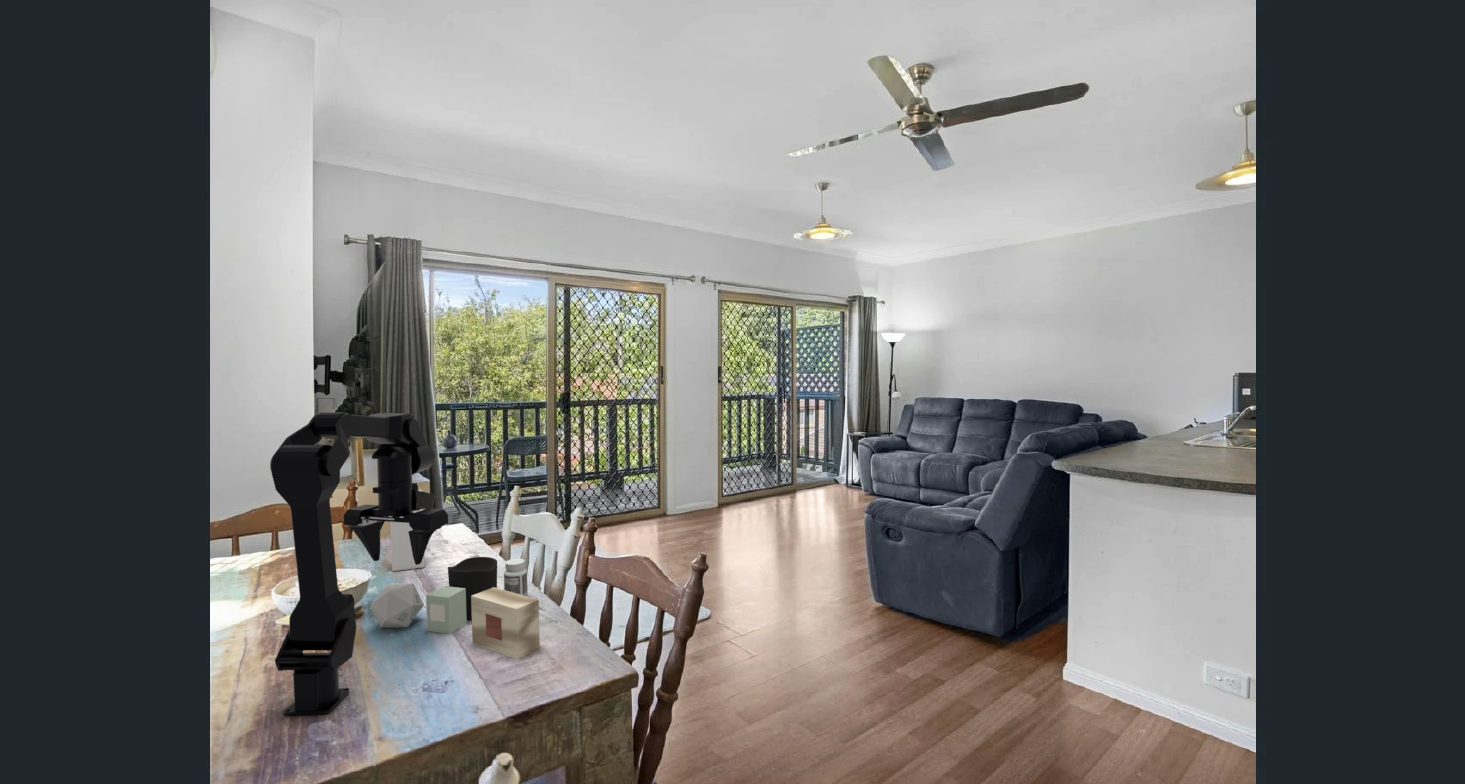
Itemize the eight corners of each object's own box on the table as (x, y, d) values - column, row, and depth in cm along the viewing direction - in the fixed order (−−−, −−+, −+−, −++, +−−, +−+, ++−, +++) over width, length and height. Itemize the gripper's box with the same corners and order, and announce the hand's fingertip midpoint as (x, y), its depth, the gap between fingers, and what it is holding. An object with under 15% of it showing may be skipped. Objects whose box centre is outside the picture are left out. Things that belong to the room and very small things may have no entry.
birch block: (517, 659, 114) (515, 609, 113) (472, 644, 120) (470, 595, 119) (539, 648, 118) (538, 599, 118) (495, 633, 124) (493, 587, 124)
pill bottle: (519, 593, 145) (518, 556, 144) (532, 598, 142) (531, 560, 141) (500, 599, 141) (499, 561, 140) (512, 605, 138) (511, 566, 137)
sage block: (449, 633, 124) (448, 597, 124) (426, 630, 126) (425, 595, 125) (466, 623, 129) (465, 588, 129) (445, 620, 130) (444, 585, 130)
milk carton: (393, 563, 165) (390, 488, 164) (424, 559, 168) (422, 486, 167) (392, 572, 159) (389, 494, 157) (424, 567, 162) (422, 491, 160)
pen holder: (502, 614, 133) (501, 566, 132) (453, 625, 128) (451, 575, 127) (493, 599, 141) (491, 554, 140) (446, 608, 136) (444, 561, 136)
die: (388, 641, 123) (421, 595, 125) (352, 616, 124) (386, 570, 126) (408, 638, 130) (439, 595, 133) (374, 614, 132) (405, 572, 134)
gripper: (466, 474, 128) (467, 553, 129) (385, 471, 132) (387, 547, 133) (426, 485, 117) (428, 571, 118) (340, 480, 122) (342, 563, 122)
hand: (397, 562), depth 123 cm, fingers open, 9 cm apart
